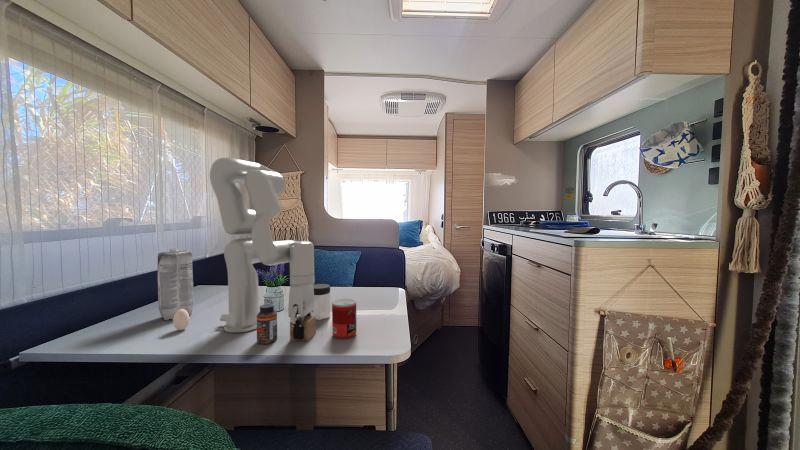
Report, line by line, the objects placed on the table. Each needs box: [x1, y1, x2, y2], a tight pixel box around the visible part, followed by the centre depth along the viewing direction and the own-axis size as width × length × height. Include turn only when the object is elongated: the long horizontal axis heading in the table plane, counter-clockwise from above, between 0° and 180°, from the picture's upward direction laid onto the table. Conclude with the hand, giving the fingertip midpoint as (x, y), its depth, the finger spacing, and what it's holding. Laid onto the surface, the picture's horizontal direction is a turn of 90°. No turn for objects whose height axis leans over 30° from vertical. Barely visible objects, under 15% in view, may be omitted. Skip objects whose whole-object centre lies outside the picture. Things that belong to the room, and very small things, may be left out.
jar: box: [312, 283, 331, 321], centre depth 118 cm, size 9×8×12 cm
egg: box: [172, 309, 191, 331], centre depth 104 cm, size 5×5×7 cm
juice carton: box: [156, 247, 194, 321], centre depth 119 cm, size 9×10×27 cm
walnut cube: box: [289, 316, 317, 342], centre depth 98 cm, size 6×6×6 cm
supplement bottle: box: [256, 303, 278, 345], centre depth 95 cm, size 6×6×11 cm
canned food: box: [331, 298, 357, 340], centre depth 99 cm, size 8×8×11 cm
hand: (303, 334), depth 98 cm, fingers closed on walnut cube, 6 cm apart
